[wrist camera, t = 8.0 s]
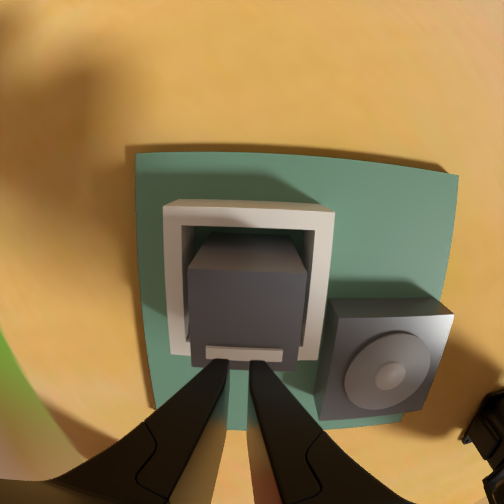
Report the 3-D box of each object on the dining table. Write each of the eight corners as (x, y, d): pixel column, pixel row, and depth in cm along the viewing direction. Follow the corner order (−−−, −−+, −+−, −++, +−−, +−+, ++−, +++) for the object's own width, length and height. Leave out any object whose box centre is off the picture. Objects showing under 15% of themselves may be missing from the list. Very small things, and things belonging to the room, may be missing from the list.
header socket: (321, 204, 16) (335, 212, 13) (308, 331, 18) (317, 360, 15) (179, 198, 16) (162, 206, 13) (182, 326, 18) (170, 354, 15)
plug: (289, 235, 16) (308, 274, 11) (283, 307, 18) (296, 374, 12) (210, 232, 16) (186, 269, 11) (210, 303, 18) (190, 369, 12)
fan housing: (434, 297, 17) (458, 317, 14) (408, 387, 19) (423, 414, 16) (328, 297, 17) (341, 322, 14) (313, 395, 19) (320, 426, 16)
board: (449, 174, 16) (458, 175, 15) (396, 413, 21) (400, 421, 20) (142, 153, 16) (135, 153, 15) (162, 413, 21) (159, 422, 20)
